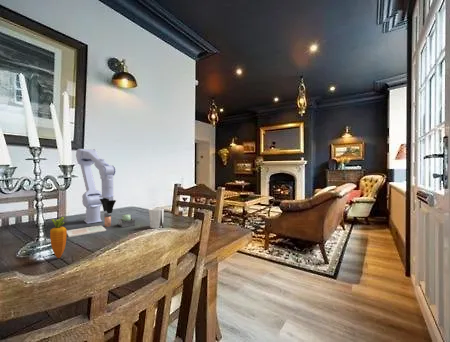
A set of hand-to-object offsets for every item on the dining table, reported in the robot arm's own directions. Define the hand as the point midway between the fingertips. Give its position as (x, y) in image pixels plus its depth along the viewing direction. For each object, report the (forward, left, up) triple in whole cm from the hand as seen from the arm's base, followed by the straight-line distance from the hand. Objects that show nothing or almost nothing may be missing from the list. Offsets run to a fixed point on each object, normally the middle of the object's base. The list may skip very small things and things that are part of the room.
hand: (107, 212), depth 126 cm
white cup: (+18, +20, -8) cm, 28 cm away
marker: (0, 0, -8) cm, 8 cm away
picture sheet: (+4, -11, -8) cm, 14 cm away
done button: (+4, +8, -6) cm, 11 cm away
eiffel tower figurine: (+32, +16, -9) cm, 37 cm away
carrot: (+35, -25, -8) cm, 44 cm away
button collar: (+4, +8, -8) cm, 12 cm away
